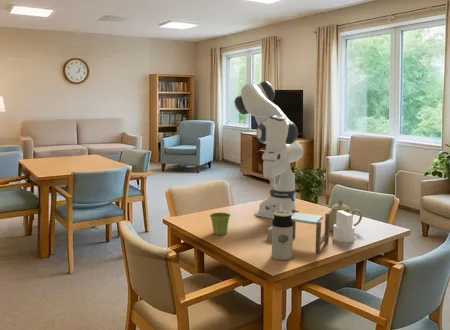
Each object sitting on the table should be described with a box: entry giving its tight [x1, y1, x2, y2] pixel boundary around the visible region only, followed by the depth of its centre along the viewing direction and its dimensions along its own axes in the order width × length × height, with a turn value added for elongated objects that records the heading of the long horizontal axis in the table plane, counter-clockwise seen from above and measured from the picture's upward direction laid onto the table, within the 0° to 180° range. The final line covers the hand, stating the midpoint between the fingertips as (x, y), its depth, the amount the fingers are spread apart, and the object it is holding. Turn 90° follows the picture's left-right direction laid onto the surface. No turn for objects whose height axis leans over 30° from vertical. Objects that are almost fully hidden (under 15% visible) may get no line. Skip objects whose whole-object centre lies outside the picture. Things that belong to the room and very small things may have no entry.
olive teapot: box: [328, 198, 363, 232], centre depth 214 cm, size 15×11×15 cm
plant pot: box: [209, 212, 231, 236], centre depth 208 cm, size 9×9×9 cm
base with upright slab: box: [332, 210, 356, 243], centre depth 200 cm, size 9×9×12 cm
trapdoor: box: [291, 212, 324, 226], centre depth 191 cm, size 15×11×2 cm
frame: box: [292, 209, 330, 255], centre depth 191 cm, size 16×16×13 cm
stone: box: [266, 225, 272, 241], centre depth 200 cm, size 5×5×5 cm
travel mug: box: [271, 210, 294, 261], centre depth 177 cm, size 8×8×18 cm
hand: (274, 185), depth 197 cm, fingers open, 4 cm apart
